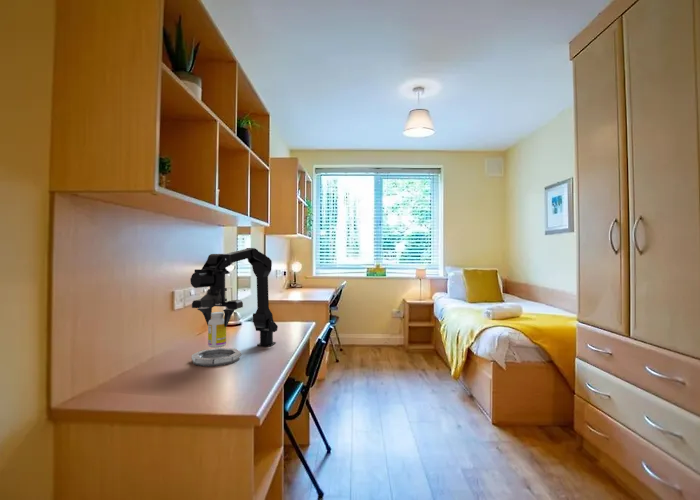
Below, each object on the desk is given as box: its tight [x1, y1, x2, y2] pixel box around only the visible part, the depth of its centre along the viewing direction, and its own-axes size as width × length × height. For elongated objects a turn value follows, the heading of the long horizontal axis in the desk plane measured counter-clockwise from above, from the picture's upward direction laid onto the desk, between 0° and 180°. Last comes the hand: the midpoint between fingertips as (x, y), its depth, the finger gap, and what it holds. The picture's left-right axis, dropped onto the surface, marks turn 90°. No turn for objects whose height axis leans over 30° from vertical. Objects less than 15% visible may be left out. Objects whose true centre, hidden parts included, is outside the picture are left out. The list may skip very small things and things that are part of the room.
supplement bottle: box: [207, 311, 227, 349], centre depth 147 cm, size 7×7×13 cm
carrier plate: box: [191, 347, 242, 367], centre depth 147 cm, size 17×17×2 cm
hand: (217, 326), depth 147 cm, fingers closed on supplement bottle, 7 cm apart
